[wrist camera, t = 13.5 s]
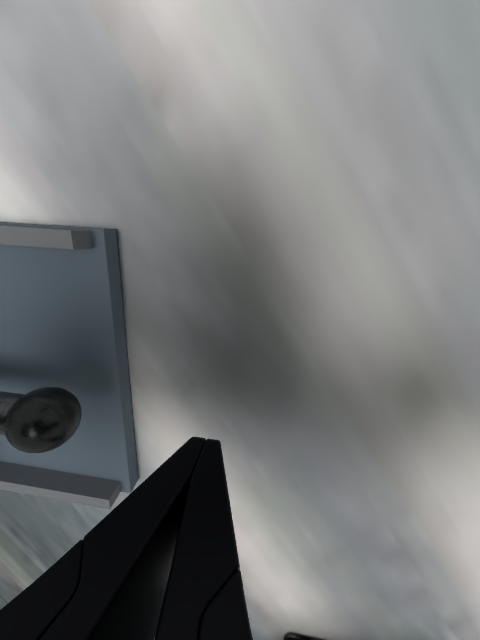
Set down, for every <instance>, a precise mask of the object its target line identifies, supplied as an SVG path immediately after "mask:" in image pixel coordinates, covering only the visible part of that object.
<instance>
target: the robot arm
mask: <svg viewBox="0 0 480 640" xmlns="http://www.w3.org/2000/svg"><path fill="white" fill-rule="evenodd" d="M239 569H240V565H239V559H238V552H237V546H236V539H235V533H234V526H233V520H232V513H231V507H230V501H229V494H228V488H227V481H226V475H225V468H224V462H223V455H222V449H221V443H220V441H219V440H214V439H207V440H206V439H205V438H200V437H192V438H190V439H189V440H188V441H187V442H186V443H185V444H184V445H183V446H182V447H180V448H179V449H178V450H177V451H176V452H175V453H174V454H173V455H172V456H171V457H170V458H169V459H168V460H166V461H165V462H164V463H163V464H162V465H161V466H160V467H159V468H158V469H157V470H156V471H155V472H153V473H152V474H151V475H150V476H149V477H148V478H147V479H146V480H145V481H144V482H143V483H142V484H141V485H139V486H138V487H137V488H136V489H135V490H134V491H133V492H132V493H131V494H130V495H129V496H128V497H127V498H125V499H124V500H123V501H122V502H121V503H120V504H119V505H118V506H117V507H116V508H115V509H114V510H112V511H111V512H110V513H109V514H108V515H107V516H106V517H105V518H104V519H103V520H102V521H101V522H100V523H98V524H97V525H96V526H95V527H94V528H93V529H92V530H91V531H90V532H89V533H88V534H87V535H85V537H84V541H83V540H80V541H79V542H78V543H77V544H76V545H74V546H73V547H72V548H71V549H70V550H69V551H68V552H67V553H66V554H65V555H64V556H63V557H61V558H60V559H59V560H58V561H57V562H56V563H55V564H54V565H52V566H51V567H50V568H49V569H48V570H47V571H46V572H45V573H44V574H42V575H41V576H40V577H39V578H38V579H37V580H36V581H35V582H33V583H32V584H31V585H30V586H29V587H27V588H26V589H25V590H24V591H23V592H21V593H20V594H19V595H18V596H17V597H15V598H14V599H13V600H12V601H11V602H9V603H8V604H7V605H6V606H5V607H3V608H2V609H1V610H0V640H154V637H155V640H253V637H252V633H251V629H250V623H249V618H248V612H247V607H246V601H245V596H244V590H243V583H242V577H241V571H240V570H239ZM155 634H156V635H155ZM284 640H302V639H298V638H293V637H287V638H285V639H284Z"/></svg>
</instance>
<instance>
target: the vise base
mask: <svg viewBox="0 0 480 640" xmlns="http://www.w3.org/2000/svg"><path fill="white" fill-rule="evenodd" d="M43 387H59V388H63V389H66V390H68V391H70V392H71V393H72V394H74V395H75V396H76V397H77V399H78V400H79V402H80V405H81V409H82V418H81V422H80V424H79V427H78V429H77V430H76V432H75V433H74V435H73V436H72V437H71V438H70V439H69V440H68V441H67V442H65V443H64V444H63V445H61V446H60V447H58V448H56V449H53V450H51V451H48V452H44V453H26V452H23V451H20V450H18V449H16V448H14V447H13V446H12V445H11V444H10V443H9V442H8V440H7V438H6V436H5V435H0V489H1V490H6V491H12V492H18V493H23V494H29V495H34V496H40V497H45V498H51V499H57V500H62V501H68V502H73V503H79V504H84V505H90V506H96V507H101V508H107V509H110V508H111V507H112V505H113V503H114V502H115V500H116V498H117V497H118V495H119V493H120V492H121V491H122V492H128V493H131V492H132V490H133V488H134V486H135V484H136V483H137V481H138V470H137V459H136V448H135V436H134V425H133V414H132V403H131V391H130V380H129V369H128V357H127V346H126V335H125V323H124V312H123V301H122V289H121V278H120V267H119V255H118V244H117V233H116V229H102V228H86V227H71V226H55V225H39V224H23V223H8V222H0V391H3V392H10V393H18V394H27V393H29V392H31V391H33V390H36V389H39V388H43Z"/></svg>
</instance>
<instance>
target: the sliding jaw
mask: <svg viewBox="0 0 480 640" xmlns="http://www.w3.org/2000/svg"><path fill="white" fill-rule="evenodd" d="M81 418H82V409H81V405H80V402H79V400H78V399H77V397H76V396H75V395H74V394H72V393H71V392H70V391H68V390H66V389H63V388H59V387H43V388H39V389H36V390H33V391H31V392H29V393H27V394H18V393H10V392H3V391H0V435H5V436H6V438H7V440H8V442H9V443H10V444H11V445H12V446H13V447H14V448H16V449H18V450H20V451H23V452H26V453H44V452H48V451H51V450H53V449H56V448H58V447H60V446H61V445H63V444H64V443H65V442H67V441H68V440H69V439H70V438H71V437H72V436H73V435H74V433H75V432H76V430H77V429H78V427H79V424H80V422H81Z"/></svg>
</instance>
